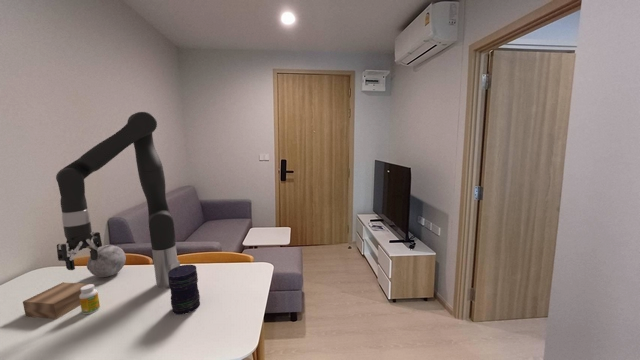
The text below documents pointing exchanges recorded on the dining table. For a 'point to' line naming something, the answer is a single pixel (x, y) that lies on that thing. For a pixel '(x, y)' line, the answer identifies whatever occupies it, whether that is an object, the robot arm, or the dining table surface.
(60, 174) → the robot arm
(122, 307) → the dining table surface
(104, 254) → the decorative orb
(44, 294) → the walnut block
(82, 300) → the supplement bottle
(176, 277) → the storage jar
